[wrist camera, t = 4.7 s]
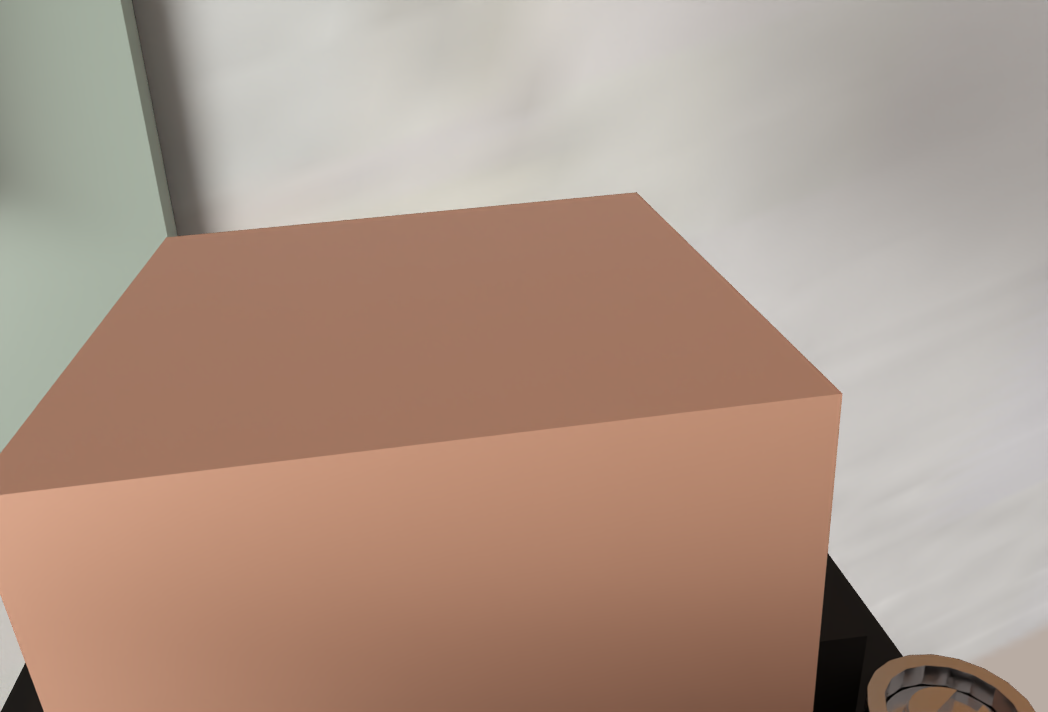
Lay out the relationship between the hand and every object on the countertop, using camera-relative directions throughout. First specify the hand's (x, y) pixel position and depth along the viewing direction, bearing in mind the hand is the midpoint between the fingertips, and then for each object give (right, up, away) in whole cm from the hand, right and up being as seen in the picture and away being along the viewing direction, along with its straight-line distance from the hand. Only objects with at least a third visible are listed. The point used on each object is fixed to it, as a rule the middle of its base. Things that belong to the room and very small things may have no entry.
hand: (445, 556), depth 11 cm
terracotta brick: (0, 0, +1) cm, 1 cm away
